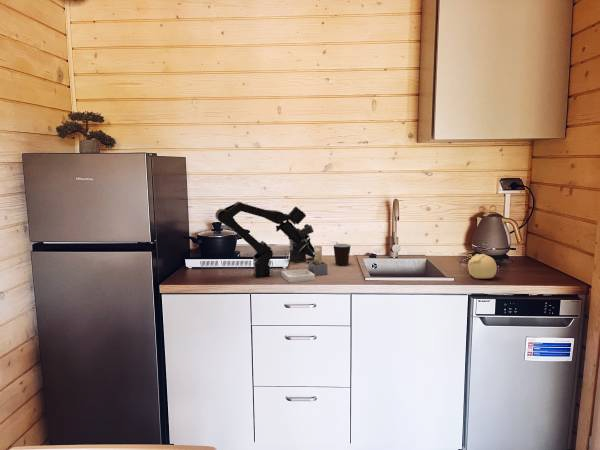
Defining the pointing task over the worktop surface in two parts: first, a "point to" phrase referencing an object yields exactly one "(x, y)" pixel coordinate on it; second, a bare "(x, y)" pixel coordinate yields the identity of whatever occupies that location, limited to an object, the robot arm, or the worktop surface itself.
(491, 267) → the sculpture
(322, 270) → the pin cup
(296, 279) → the tray
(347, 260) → the black cup
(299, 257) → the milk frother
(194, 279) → the worktop surface
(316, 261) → the maple pin
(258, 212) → the robot arm
